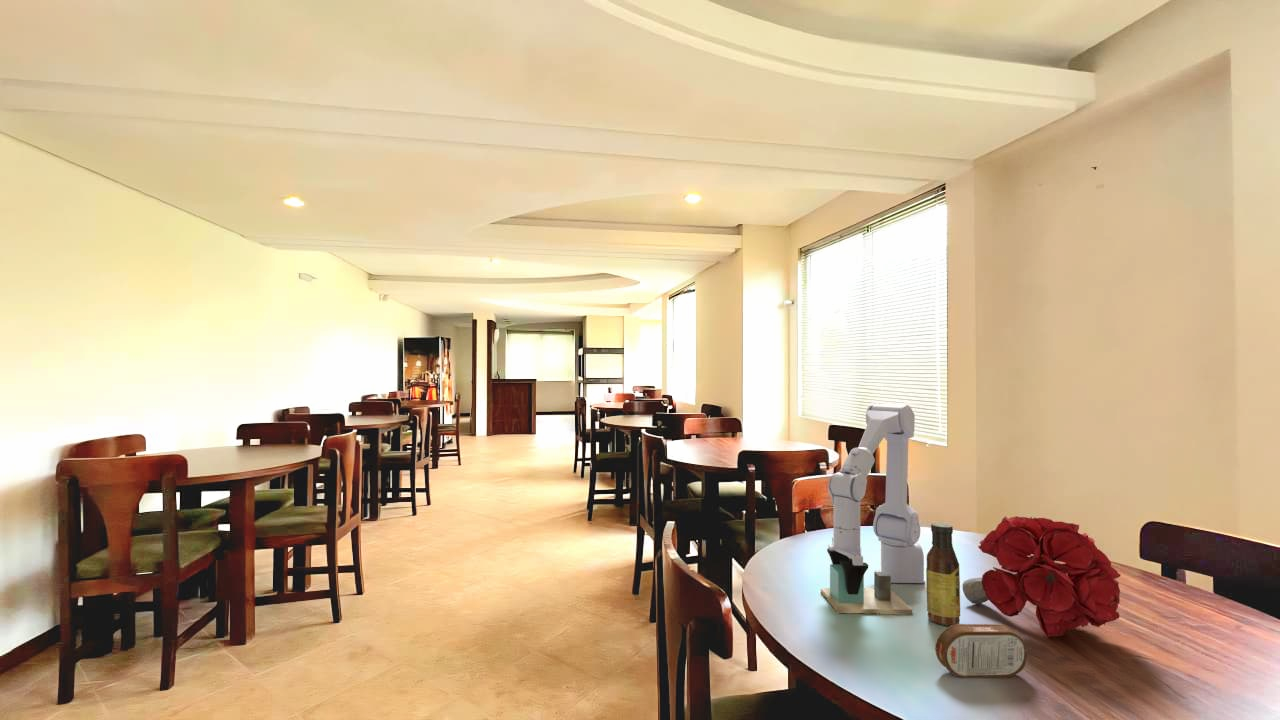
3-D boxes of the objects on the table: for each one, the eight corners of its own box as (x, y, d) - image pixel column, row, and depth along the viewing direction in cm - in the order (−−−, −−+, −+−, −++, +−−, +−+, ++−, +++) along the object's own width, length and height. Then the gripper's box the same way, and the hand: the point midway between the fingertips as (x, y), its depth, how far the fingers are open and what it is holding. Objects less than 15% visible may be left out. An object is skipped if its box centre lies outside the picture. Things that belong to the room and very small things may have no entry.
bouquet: (957, 652, 123) (1098, 630, 100) (915, 538, 134) (1033, 495, 111) (1023, 641, 131) (1168, 618, 108) (979, 535, 143) (1100, 494, 120)
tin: (1018, 670, 102) (1018, 621, 103) (1031, 679, 99) (1031, 629, 99) (934, 671, 102) (934, 622, 102) (944, 681, 99) (944, 630, 99)
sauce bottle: (964, 628, 119) (964, 530, 119) (931, 625, 120) (931, 528, 120) (954, 615, 125) (953, 522, 125) (922, 612, 126) (922, 520, 127)
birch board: (889, 592, 138) (889, 565, 138) (912, 614, 126) (912, 583, 126) (820, 592, 138) (820, 564, 138) (837, 613, 126) (837, 583, 126)
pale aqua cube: (854, 593, 135) (854, 564, 135) (863, 603, 129) (863, 573, 129) (830, 593, 135) (830, 564, 135) (838, 603, 129) (838, 572, 129)
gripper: (819, 518, 139) (819, 575, 139) (839, 535, 125) (839, 599, 125) (849, 518, 139) (849, 576, 139) (872, 535, 125) (872, 600, 124)
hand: (846, 587), depth 132 cm, fingers open, 7 cm apart
